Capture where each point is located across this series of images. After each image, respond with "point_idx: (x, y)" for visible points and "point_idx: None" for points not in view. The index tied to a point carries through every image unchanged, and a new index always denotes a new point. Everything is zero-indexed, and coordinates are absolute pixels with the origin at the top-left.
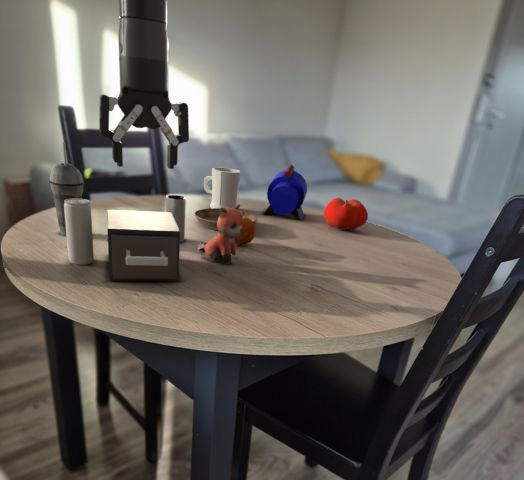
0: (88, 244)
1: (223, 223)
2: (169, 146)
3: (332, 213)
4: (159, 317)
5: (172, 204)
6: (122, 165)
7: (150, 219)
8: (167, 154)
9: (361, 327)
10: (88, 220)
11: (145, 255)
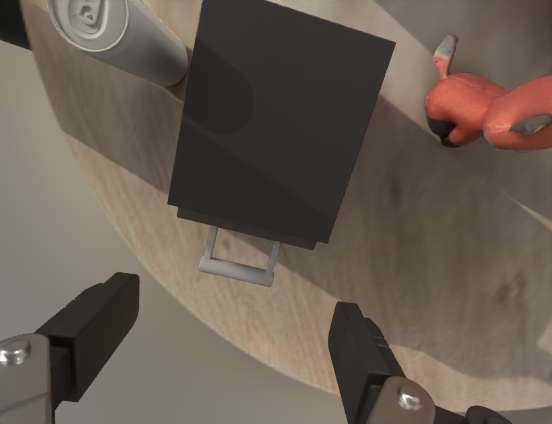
0: (163, 75)
1: (500, 141)
2: (352, 414)
3: None
4: (234, 319)
5: None
6: (134, 319)
7: (298, 127)
8: (350, 336)
9: (457, 400)
10: (143, 60)
11: None
